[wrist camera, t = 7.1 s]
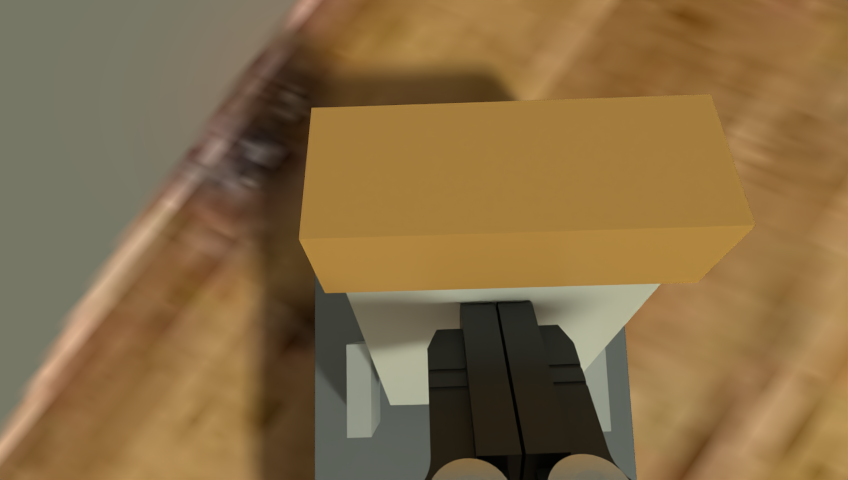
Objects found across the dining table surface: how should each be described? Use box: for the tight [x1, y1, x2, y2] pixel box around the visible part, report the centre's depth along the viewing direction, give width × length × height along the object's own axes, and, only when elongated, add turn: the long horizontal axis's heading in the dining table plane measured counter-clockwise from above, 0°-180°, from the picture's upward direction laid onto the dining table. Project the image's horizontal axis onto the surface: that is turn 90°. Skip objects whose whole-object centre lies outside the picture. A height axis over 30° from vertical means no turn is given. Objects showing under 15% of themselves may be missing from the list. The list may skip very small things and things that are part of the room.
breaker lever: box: [299, 94, 755, 405], centre depth 15 cm, size 2×6×14 cm, turn 91°
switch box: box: [315, 274, 637, 480], centre depth 23 cm, size 20×12×9 cm, turn 2°
